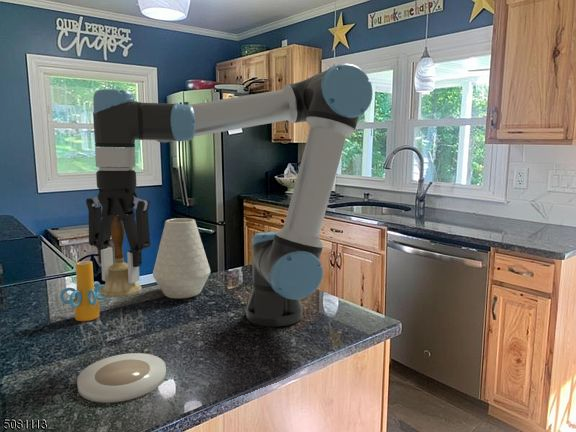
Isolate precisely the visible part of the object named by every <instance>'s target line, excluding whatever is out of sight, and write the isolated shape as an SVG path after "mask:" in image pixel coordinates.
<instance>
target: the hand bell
mask: <svg viewBox="0 0 576 432" xmlns="http://www.w3.org/2000/svg"><path fill="white" fill-rule="evenodd" d="M124 239H125V229H124V225H123V222H122V220H120V217H119V215H117V216H113V221H112V224H111V240H112V242H113V247H114V259H115V260H114V261H115V262H113V265H111V266H110V267H109V268H108V277H107V280H106V282H105V283H104V284H103V285H104V287H102V288H101V290H100V294H99V295H101V297H105V296H106V297H108V298H122V297H128V296H133V295H136V294H139V292H141V291H142V289H143V288H142V286H141V284H139V283H138V281H136V282H134V283H132V284H131V283H128V262H125V259H124V249H123V244H124V243H123V242H124Z"/></svg>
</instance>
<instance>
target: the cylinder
mask: <svg viewBox="0 0 576 432" xmlns="http://www.w3.org/2000/svg"><path fill="white" fill-rule="evenodd" d="M75 275H76V289H75V288H73V287H66V288H64V289H62V291H61V292H60V294H59V299H60V300H61V302H63V303H64V304H68V305H69V304H70V307H72V308H74V311H73V312H74V319H75V320H76V322H88V321H93V320H96V319H98V318H99V317H100V301H104V300H108V299H109V297H106V296H100V295H101V294H100V290H101V288H102V287H104V285H105V284H101V283H100V282H99V281H94V266H93V261H92V260H81V261H77V262H75ZM95 285H97V286H96V287H95ZM68 291H69V292H72V293H70V295H69V300H67V299H65V297H64V295H65V293H66V292H68Z"/></svg>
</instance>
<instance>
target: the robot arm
mask: <svg viewBox="0 0 576 432" xmlns="http://www.w3.org/2000/svg"><path fill="white" fill-rule="evenodd" d="M372 86H373V85H372V83H371V81H370V79H369V77H368V75H367V73H366V72H365V71H364V70H363V69H361V68H360V67H358V66H357V65H355V64H351V63H341V64H335V65H332V66H330V67H328V69H326V70H324V71H321V72H319V73H317V74H314V75H312V76H310V77H308V78H306V79H303V80H302V81H301V80H300V81H298V82H295V83H290V84H288V83H287V84H285V85H284V86H283V87H282V89H278V90H271V91H265V92H262V93H261V92H260V93H255V94H254V93H253V94H248V95H247V94H246V95H242V96H236V97H229V98H223V99H216V100H210V101H204V102H198V103H193V104H192V103H191V104H183V103H178V102H177V103H176V102H175V103H163V102H162V103H161V102H160V103H158V102H141V101H135V98H134V93H133V92H132V91H128V90H123V89H117V88H116V89H114V88H111V89H110V88H107V89H106V88H105V89H103V88H102V89H98V90H96V91H95V92H94V93H93V97H92V99H93V100H92V101H93V103H92V104H93V105H92V106H93V107H92V108H93V109H92V111H93V112H92V117H93V131H94V132H93V137H94V153H95V154H94V157H95V158H94V159H95V160H94V161H95V167H96V168H98V170H97V171H96V172H95V173H96V174H95V175H96V187H97V189H98V190H99V191H98V194H97V196H95V197H91V198H90V197H89V198H86V200H85V204H86V207H87V210H88V245H89V246H92V247H95V248H96V249H97V253H98V263H99V264H100V265H101V280H102V281H103V282H105V281H107V277H108V268H109V267H110V266H111V265H113V264H114V256H113V255H114V254H113V247H111V246H112V244H110V242H111V239H112V237H111V224H112V221H113V216H119V217H120V220H121V222H122V224H123V227H124V233H125V234H126V239H127V242H128V246H129V249H130V250H128V251H127V253H126V254H127V255H126V256H127V264H128V283H131V284H132V283H134V282H139V281H140V266H141V267H142V264H143V261H142V259H143V258H142V251H143V250H145V249H147V248H150V246H151V238H150V225H149V209H150V204H151V202H150V200H148V199H141V198H139V197H138V196H137V193H136V188H137V172H136V170H134V168H135V167H136V164H137V163H136V145H135V141H137V140H140V141H157V142H158V143H170V142H172V141H175V142H177V143H178V142H185V141H186V142H187V141H188V142H189V141H192V140H193V139H194V137H199V136H201V137H202V136H205V135H213V134H217V133H223V132H227V131H234V130H239V129H245V128H251V127H257V126H260V125H261V126H263V125H267V124H273V123H277V122H278V123H280V122H284V121H287V122H289V123H290V124H296V123H302V122H306V123H307V124H308V126H309V132H308V135H307V138H306V143H305V145H304V146H305V147H304V149H303V154H302V157H301V161H300V165H299V169H298V172H297V177H296V179H295V183H294V187H293V191H292V195H291V198H290V202H289V206H288V209H287V213H286V217H285V221H284V224H283V227H282V228H280V229H279V230H277V231H266V232H258V233H255V234H254V235H253V237H252V244H251V247H252V290H251V294H250V296H249V299H248V303H247V306H246V312H245V313H246V319H247V320H248V322H251V323H252V324H255V325H258V326H264V327H276V328H277V327H284V326H285V327H286V326H290V325H294V324H296V323H298V322H300V321H301V320H302V319H303V305H302V303H301V299H305V298H307V297H308V296H310V295H312V294H313V293H315V292H316V291H317V289H318V288H320V287H319V286H320V285H321V283H322V280H323V277H324V271H323V270H324V269H323V266H322V263H321V261H320V258H321V255H322V251H323V247H324V245H323V242H322V241H321V239H320V233H321V231H322V230H321V229H322V226H323V222H324V219H325V215H326V212H327V208H328V204H329V201H330V198H331V195H332V190H333V187H334V183H335V179H336V176H337V171H338V170H339V169H338V168H339V164H340V160H341V158H342V153H343V151H344V147H345V142H346V141H347V140H346V139H347V138H348V137H349V136H351V135H353V134H354V133H355V132H356V128H357V125H358V121H359V117H360V116H362V115H363V114H364V113H366V112H367V110H368V108H369V107H370V105H371V103H372V100H373V87H372ZM134 209H135V210H134Z"/></svg>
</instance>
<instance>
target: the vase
mask: <svg viewBox="0 0 576 432" xmlns="http://www.w3.org/2000/svg"><path fill="white" fill-rule="evenodd" d="M160 238H161V239H160V242H159V246H158V250H157V254H156V259H155V264H154V268H153V271H152V277H153V279H154V280H155V282H156V284H157V285H158V287H159V289H160V290H161V292H162V293H163V295H164V296H165V297H167V298H169V299H175V300H176V299H177V300H179V299H180V300H182V299H189V298H193V297H196V296H198V295H200V294H201V292H202V290H203V288H204V286H205V285H206V283H207V280H208V279H209V276H210V275H211V268H210V264H209V262H208V258H207V255H206V251H205V249H204V244H203V242H202V238H201V234H200V232H199V228H198V225H197V222H196V219H194V218H186V217H185V218H171V219H167V220H165V222H164V226H163V231H162V234H161V237H160Z"/></svg>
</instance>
